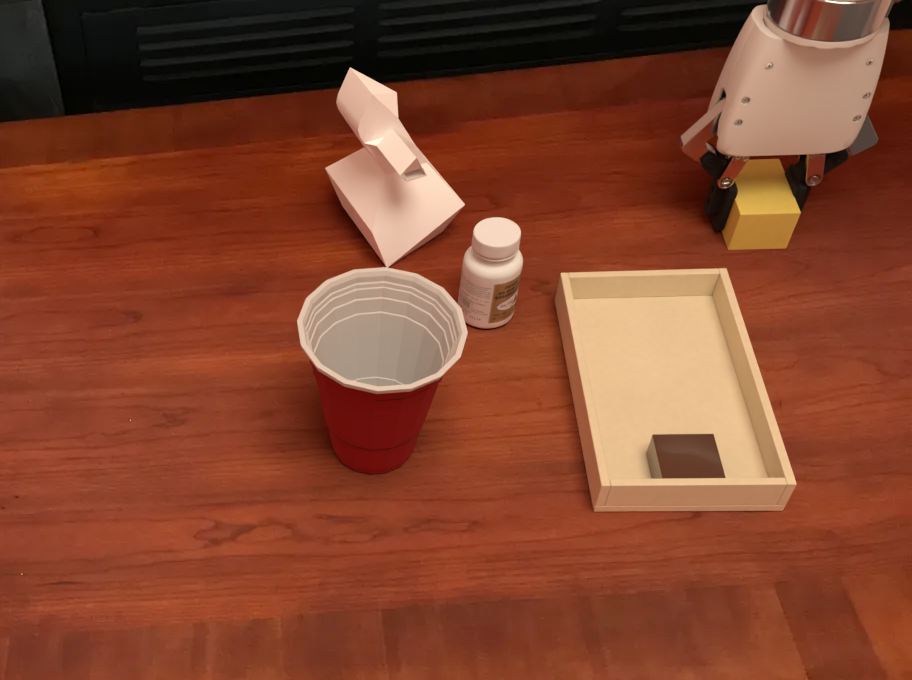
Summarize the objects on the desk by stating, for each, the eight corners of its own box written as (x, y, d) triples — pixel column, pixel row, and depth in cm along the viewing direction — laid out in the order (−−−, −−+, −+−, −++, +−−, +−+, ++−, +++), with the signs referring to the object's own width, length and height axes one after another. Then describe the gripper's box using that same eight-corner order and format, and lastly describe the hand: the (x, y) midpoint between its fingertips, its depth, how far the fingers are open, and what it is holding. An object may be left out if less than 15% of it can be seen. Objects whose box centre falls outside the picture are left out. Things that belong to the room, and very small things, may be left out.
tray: (716, 296, 88) (726, 267, 86) (783, 511, 76) (797, 484, 73) (554, 300, 90) (560, 272, 88) (593, 512, 77) (601, 485, 75)
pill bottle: (503, 336, 88) (516, 256, 82) (448, 321, 89) (458, 241, 83) (521, 301, 90) (536, 220, 84) (468, 287, 92) (479, 206, 85)
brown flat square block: (705, 452, 78) (713, 433, 77) (718, 498, 76) (726, 478, 75) (645, 453, 79) (652, 433, 77) (655, 498, 77) (662, 479, 75)
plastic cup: (369, 530, 78) (376, 409, 68) (269, 441, 84) (262, 318, 74) (484, 451, 81) (505, 325, 72) (380, 370, 87) (387, 243, 77)
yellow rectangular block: (765, 194, 95) (779, 158, 92) (786, 249, 91) (801, 212, 88) (709, 196, 96) (721, 160, 93) (727, 250, 91) (740, 214, 89)
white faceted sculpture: (399, 160, 102) (408, 12, 91) (473, 252, 94) (492, 100, 83) (311, 186, 101) (310, 39, 90) (378, 281, 93) (386, 131, 82)
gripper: (941, -34, 80) (844, 187, 94) (690, -21, 82) (633, 193, 96) (978, 23, 75) (870, 245, 90) (711, 35, 77) (648, 251, 92)
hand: (748, 216), depth 93 cm, fingers closed on yellow rectangular block, 4 cm apart
